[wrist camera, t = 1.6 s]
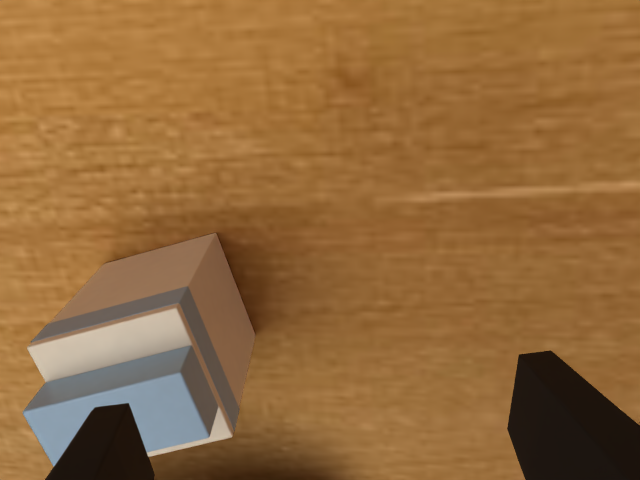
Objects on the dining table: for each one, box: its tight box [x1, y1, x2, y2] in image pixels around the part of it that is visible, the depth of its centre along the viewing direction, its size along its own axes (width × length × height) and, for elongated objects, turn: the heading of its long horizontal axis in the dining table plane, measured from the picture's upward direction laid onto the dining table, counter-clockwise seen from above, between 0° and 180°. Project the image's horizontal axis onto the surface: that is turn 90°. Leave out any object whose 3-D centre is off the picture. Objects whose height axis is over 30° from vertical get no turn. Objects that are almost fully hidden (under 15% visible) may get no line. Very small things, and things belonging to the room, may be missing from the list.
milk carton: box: [23, 233, 255, 466], centre depth 20 cm, size 5×5×8 cm
